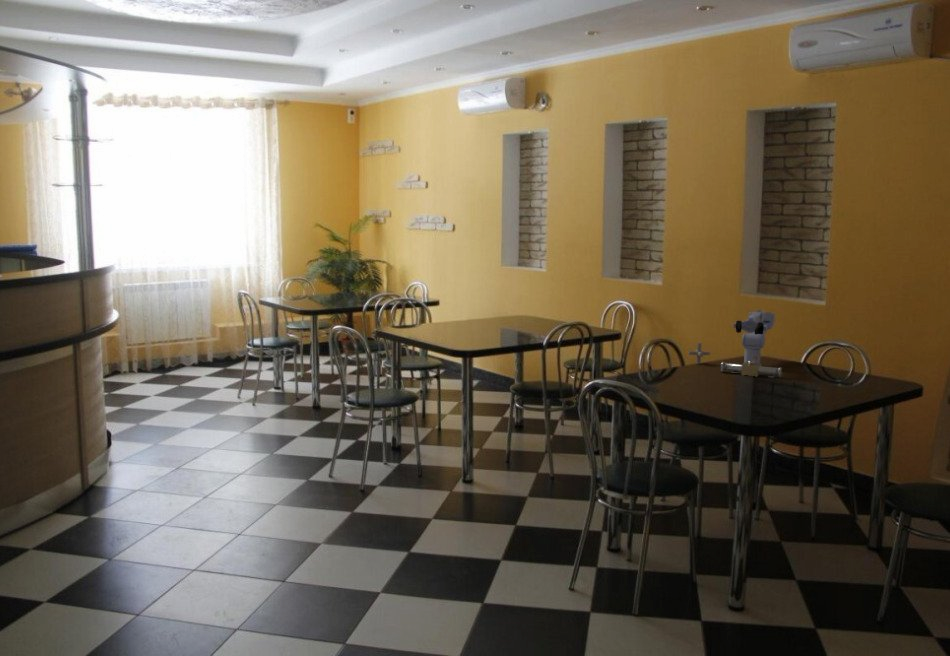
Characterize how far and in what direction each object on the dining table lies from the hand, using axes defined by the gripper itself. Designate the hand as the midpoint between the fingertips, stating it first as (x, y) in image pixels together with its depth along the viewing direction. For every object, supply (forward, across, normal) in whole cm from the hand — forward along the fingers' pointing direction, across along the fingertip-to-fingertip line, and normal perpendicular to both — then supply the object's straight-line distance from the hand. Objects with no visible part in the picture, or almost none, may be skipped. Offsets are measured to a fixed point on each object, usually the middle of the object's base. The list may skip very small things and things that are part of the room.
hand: (746, 331), depth 388 cm
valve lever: (-1, +3, +15) cm, 15 cm away
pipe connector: (-10, -24, +22) cm, 34 cm away
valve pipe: (+5, +4, +19) cm, 20 cm away
